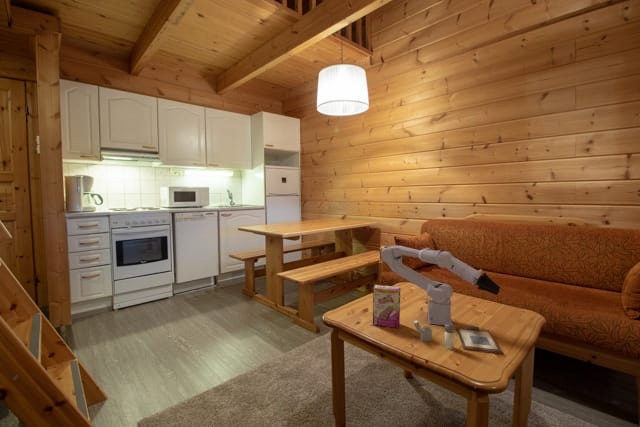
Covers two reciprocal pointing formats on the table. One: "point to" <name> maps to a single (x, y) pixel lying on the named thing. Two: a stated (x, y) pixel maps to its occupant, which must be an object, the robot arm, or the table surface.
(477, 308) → the table surface
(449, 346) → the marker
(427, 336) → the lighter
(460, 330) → the picture frame
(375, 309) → the candy bar box
